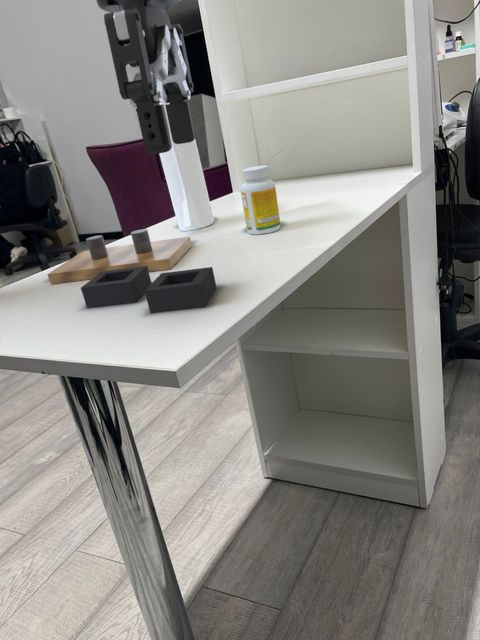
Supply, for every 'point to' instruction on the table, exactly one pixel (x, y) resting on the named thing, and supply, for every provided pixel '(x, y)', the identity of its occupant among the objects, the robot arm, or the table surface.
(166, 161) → the white spray bottle
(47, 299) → the table surface
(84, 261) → the wooden board
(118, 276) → the dark grey square ring
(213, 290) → the black square holder
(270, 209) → the supplement bottle
